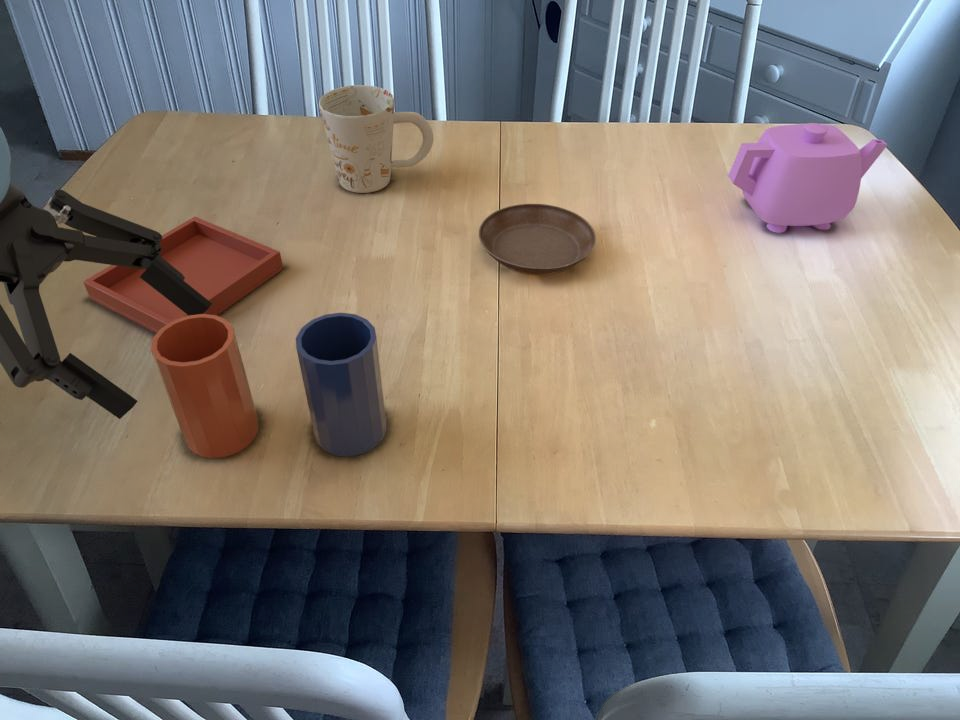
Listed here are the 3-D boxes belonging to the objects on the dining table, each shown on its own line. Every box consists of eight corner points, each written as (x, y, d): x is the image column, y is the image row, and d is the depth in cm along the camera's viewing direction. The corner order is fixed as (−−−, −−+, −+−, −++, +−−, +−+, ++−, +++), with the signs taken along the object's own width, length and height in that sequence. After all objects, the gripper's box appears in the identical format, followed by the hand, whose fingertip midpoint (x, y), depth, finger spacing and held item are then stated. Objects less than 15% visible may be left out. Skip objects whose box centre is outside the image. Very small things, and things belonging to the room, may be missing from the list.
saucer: (608, 235, 103) (611, 218, 101) (570, 298, 93) (572, 279, 91) (506, 210, 107) (506, 193, 105) (459, 267, 97) (458, 249, 95)
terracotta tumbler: (221, 469, 73) (189, 376, 65) (170, 439, 76) (133, 346, 68) (273, 423, 77) (250, 331, 69) (223, 396, 80) (195, 304, 72)
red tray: (176, 344, 86) (170, 326, 84) (90, 299, 92) (82, 281, 90) (283, 269, 97) (280, 251, 95) (199, 233, 103) (194, 216, 101)
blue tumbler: (355, 467, 73) (340, 375, 65) (300, 437, 76) (279, 345, 68) (400, 422, 78) (391, 329, 69) (346, 395, 80) (331, 303, 72)
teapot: (737, 243, 101) (761, 154, 93) (706, 194, 110) (725, 109, 102) (882, 233, 103) (919, 145, 95) (839, 186, 112) (869, 101, 104)
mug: (328, 167, 116) (317, 87, 108) (429, 158, 118) (426, 79, 110) (331, 201, 109) (320, 119, 101) (439, 191, 111) (437, 110, 103)
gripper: (31, 150, 75) (211, 295, 82) (-185, 309, 57) (72, 475, 64) (61, 102, 70) (248, 260, 78) (-164, 258, 52) (109, 443, 60)
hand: (169, 358), depth 71 cm, fingers open, 13 cm apart
